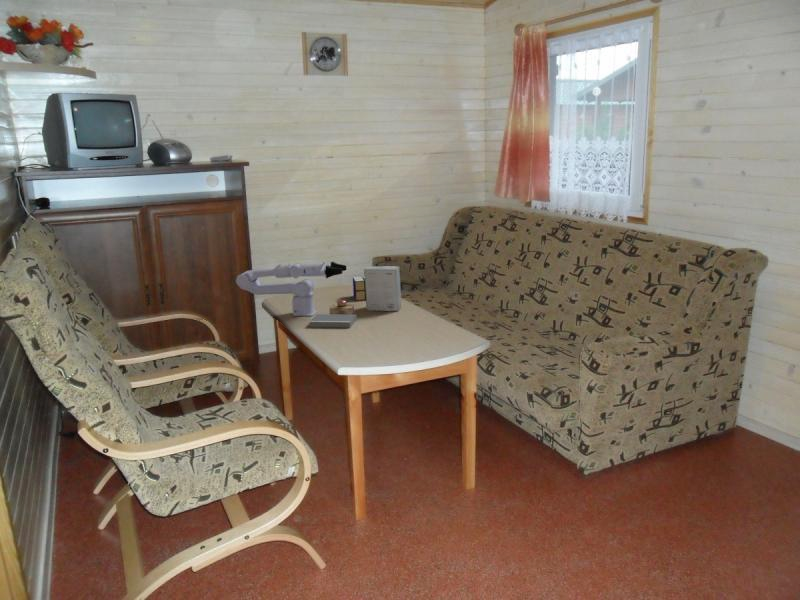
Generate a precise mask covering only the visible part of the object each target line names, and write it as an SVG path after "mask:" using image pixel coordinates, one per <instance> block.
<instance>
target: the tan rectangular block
mask: <svg viewBox="0 0 800 600" xmlns="http://www.w3.org/2000/svg"><path fill="white" fill-rule="evenodd" d="M329 314H344V315H355V304H346V307H337V304H336V303H335V304H332V305H331V306H330V307H329Z"/></svg>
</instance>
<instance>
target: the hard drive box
mask: <svg viewBox="0 0 800 600" xmlns="http://www.w3.org/2000/svg"><path fill="white" fill-rule="evenodd" d="M363 271H364V274H363V275H364V276H365V291H366V299H365V304H366V305H365V306H366V311H374V310H376V311H378V310H379V311H383V312H384V311H385V312H397V311H399V310H400V309H401V308H402V292H401V290H402V289H401V275H400V273H401V272H400V271H401V270H400V266H395V265H394V266H392V265H391V266H389V265H388V266H387V265H386V266H383V265H381V266H379V265H378V266H375V265H373V266H372V265H369V266H368V267H366V268H365V269H363ZM379 311H378V312H379Z"/></svg>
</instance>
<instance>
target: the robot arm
mask: <svg viewBox="0 0 800 600" xmlns="http://www.w3.org/2000/svg"><path fill="white" fill-rule="evenodd" d="M344 271H347V265H346V264H345V265H344V264H340V263H336V262H334V261H330V264H328V263H327V261H326V260H324V261H322V263H307V264H302V263H297V262H296V263H295V262H294V264H293V265H292V263H289V264H284V265H283V264H281V263H280V264H278V265H275V267H274V268H260V269H259V268H257V269H251V270H245V271H244V272H243V273H241V274H238V275H237V276H236V279H235V283H236V284H237V286H238V287H239V288H240V289H241V290H245V291H247V292H249V293H251V294H253V295H255V296H257V295H258V296H259V295H289V294H290V295H293V296H292V302H291V303H292V317H293V316H295V317H297V316H298V317H302V316H303V317H306V316H307V317H312V316H314V315H315V314H316V313H317V310H315V305H314V304H315V303H314V293H313V290H314V288H315V284H314V283H313V281H312V280H311V279H306V278H305V279H303V280H301V281H295V282H281V283H261V282H260V281H259V278H265V277H266V278H267V277H273V276H274V277H275V278H277V279H282V278H283V279H285V278H291V277H292V278H294V279H299V277H308V278H309V277H312V278H313V277H325V278H326V279H329V278H331V277H334V276H338V275H342V274H343V272H344Z"/></svg>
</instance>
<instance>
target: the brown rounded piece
mask: <svg viewBox="0 0 800 600" xmlns="http://www.w3.org/2000/svg"><path fill="white" fill-rule="evenodd" d="M336 305H337V307H346V305H347V300H346V299H338V300H336Z"/></svg>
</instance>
